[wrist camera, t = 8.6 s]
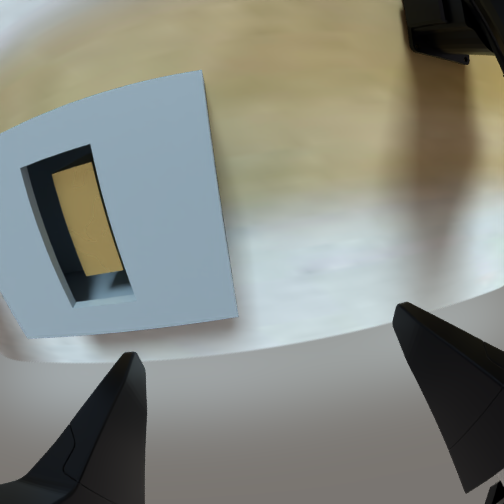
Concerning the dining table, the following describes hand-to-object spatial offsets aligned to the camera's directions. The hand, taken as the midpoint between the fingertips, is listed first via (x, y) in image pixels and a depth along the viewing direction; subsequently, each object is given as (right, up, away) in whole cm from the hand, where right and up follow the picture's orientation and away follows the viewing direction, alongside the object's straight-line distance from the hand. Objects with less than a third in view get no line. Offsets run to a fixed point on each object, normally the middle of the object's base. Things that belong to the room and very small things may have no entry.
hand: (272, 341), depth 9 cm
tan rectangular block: (-10, +7, +9) cm, 15 cm away
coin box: (-10, +7, +9) cm, 15 cm away
